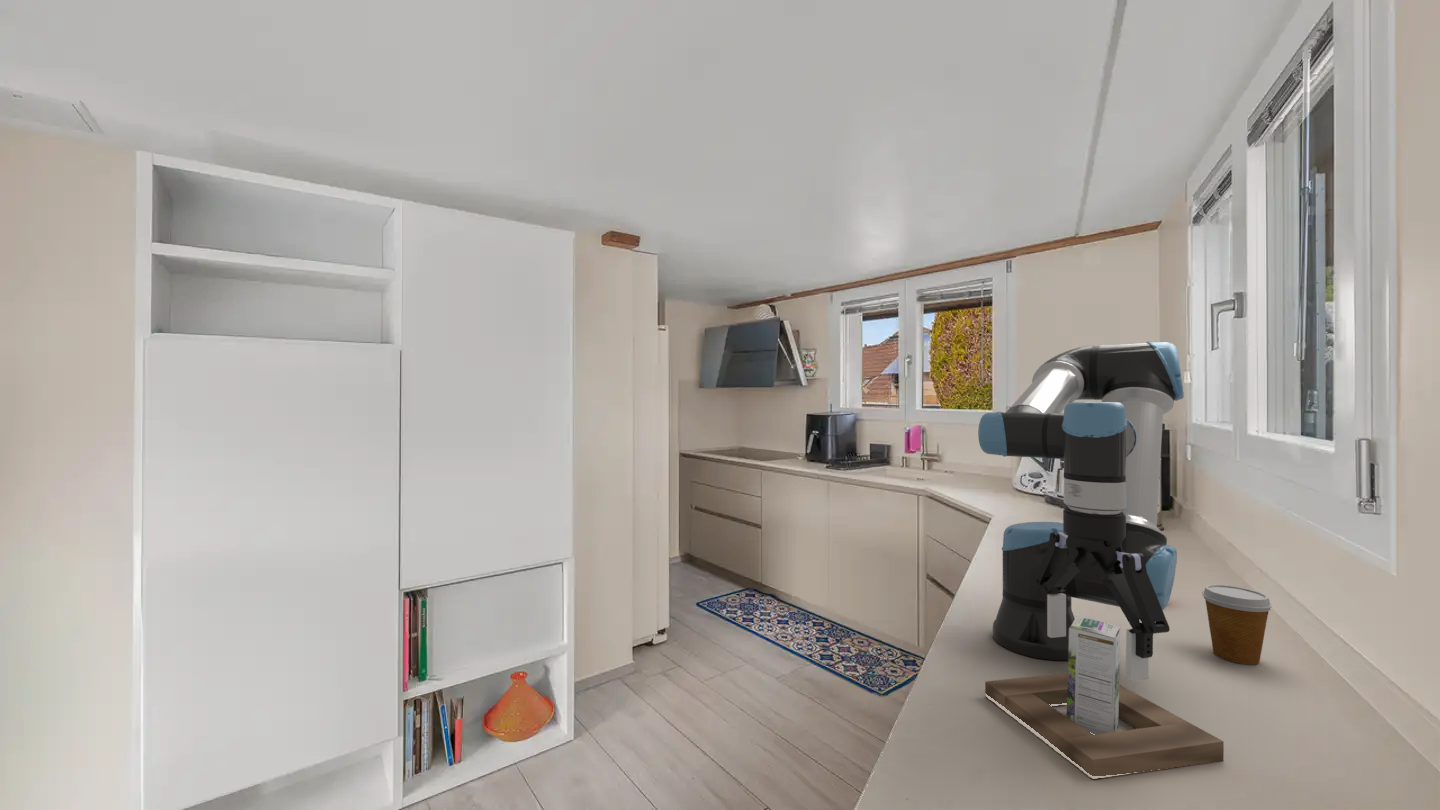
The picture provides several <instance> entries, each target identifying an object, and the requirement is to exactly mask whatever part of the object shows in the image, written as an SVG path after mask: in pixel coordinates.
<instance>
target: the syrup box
mask: <svg viewBox="0 0 1440 810" xmlns="http://www.w3.org/2000/svg"><path fill="white" fill-rule="evenodd" d="M1074 618H1075V620H1074V622H1073V623H1072V625H1071V627H1070V628H1069V649H1068V660H1067V663H1068V664H1067V673H1068V687H1067V705H1066V717H1068V718H1069V719H1070V720H1072V721H1073V722H1075V723H1076V724H1078V725H1079V726H1081V727H1082V728H1084V729H1085V730H1087V731H1088V732H1091V733H1093V734H1102V733H1110V732H1117V731H1118V727H1119V685H1120V679H1121V678H1120V676H1121V675H1120V671H1121V670H1120V669H1121V630H1122V629H1121V627H1120V626H1118V625H1116V624H1112V623H1109V622H1107V621H1103V620H1102V621H1101V620H1098V619H1094V618H1088V617H1079V616H1076V617H1074Z"/></svg>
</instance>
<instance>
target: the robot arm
mask: <svg viewBox="0 0 1440 810" xmlns="http://www.w3.org/2000/svg"><path fill="white" fill-rule="evenodd" d="M1177 348H1178V347H1177V345H1175V344H1174V343H1171V342H1168V341H1160V342H1157V341H1156V342H1152V341H1146V342H1143V343H1142V342H1141V343H1138V342H1137V343H1123V344H1120V343H1119V344H1101V345H1100V344H1099V345H1084V346H1080V347H1076V348H1073V349H1069V350H1066V351H1063V352H1062V353H1061V352H1060V353H1059V354H1057V355H1055V356H1053V357H1051V358H1050V359H1048V360H1046V361H1045V362H1044V363H1043V364H1041V365H1040V366H1039V367H1038V368H1037V369H1036V370H1035V372H1034V374H1033V376H1032V379H1031V384H1030V385H1029V386H1028V387H1027V389H1025V391H1024V392H1023V393H1022V394H1021V395H1020V396H1019V397H1018V398H1017V399H1016V400H1015V402H1014V403H1013V404H1012V405H1011V406H1010V407H1009V408H1008V409H1007V411H1006V412H1004V411H1003V412H1002V411H996V412H986V413H984V414H983V415H982V416H981V417H980V420H979V424H978V430H977V431H978V433H977V435H978V436H977V437H978V443H979V447H980V449H981V451H983V452H984V453H985V454H986V455H993V456H1002V457H1017V458H1020V457H1021V458H1039V459H1057V460H1063V504H1064V505H1066V506H1067V507H1065V508H1064V509H1063V510H1062V516H1063V517H1062V521H1063V522H1060V521H1059V522H1058V521H1029V522H1028V521H1027V522H1018V523H1015V524H1011V525H1009V526H1007V527H1006V528H1005V529H1004V531H1003V536H1002V537H1003V538H1002V546H1001V551H1002V599H1001V602H1000V605H999V608H998V611H997V614H996V617H995V620H994V621H993V623H992V639H993V640H994V641H995V642H996V643H997V644H998V645H1000V646H1001V647H1003V648H1005V649H1007V650H1009V651H1012V652H1014V653H1016V654H1020V655H1023V656H1027V657H1030V658H1035V659H1042V660H1049V661H1068V649H1069V628H1070V627H1071V625H1072V623H1073V622H1074V620H1075V618H1076V617H1075V615H1074V613H1073V611H1072V599H1073V598H1074V599H1075V598H1076V599H1078V600H1084V601H1090V602H1093V603H1094V602H1095V603H1099V604H1103V605H1108V606H1113V607H1117V608H1120V610H1121V611H1122V613H1123V615H1124V617H1125V618H1126V620H1127V622H1128V623H1129V625H1130V627H1131V628H1129V629H1127V628H1126V629H1125V632H1126V633H1125V635H1126V636H1125V639H1126V640H1125V642H1126V643H1125V644H1126V645H1125V646H1126V648H1125V649H1126V650H1125V651H1126V652H1125V653H1126V655H1125V660H1126V662H1125V667H1126V669H1125V672H1126V673H1125V676H1126V678H1125V679H1126V680H1129V681H1130V682H1135V681H1142V680H1143V681H1144V680H1149V658H1152V657H1153V654H1154V650H1153V649H1154V634H1164V633H1168V632H1170V625H1169V623H1168V621H1167V618H1166V615H1165V613H1164V610H1165V609H1166V608H1167V606H1168V604H1169V601H1170V598H1171V594H1172V590H1173V587H1174V582H1175V576H1176V569H1177V562H1178V553H1177V549H1176V548H1175V547H1174V546H1171V545H1170V544H1167V543H1168V538H1167V535H1166V534H1165V533H1164V532H1163V531H1162V530H1161V529H1159V528H1158V526H1157V525H1158V510H1159V509H1158V508H1159V493H1160V492H1159V490H1160V477H1161V476H1160V475H1161V474H1160V472H1161V459H1162V458H1161V457H1162V456H1161V455H1162V438H1163V420H1164V415H1165V414H1167V413H1169V412H1170V411H1171V410H1172V409H1173V408H1174V404H1175V403H1174V401H1180V400H1182V399H1183V400H1184V397H1185V395H1184V393H1185V392H1184V386H1183V380H1182V379H1183V378H1182V373H1181V365H1180V359H1179V352H1178V349H1177ZM1080 400H1083V401H1080ZM1084 400H1086V401H1084ZM1087 400H1090V401H1087ZM1091 400H1094V401H1091ZM1095 400H1096V401H1095Z"/></svg>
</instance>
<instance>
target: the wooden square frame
mask: <svg viewBox="0 0 1440 810" xmlns="http://www.w3.org/2000/svg"><path fill="white" fill-rule="evenodd" d="M984 684H985V685H984V686H985V687H984V688H985V689H984V691H985V693H986V694H987V695H988V696H990V697H991V698H993V699H994V700H995V701H997V702H998V703H999V704H1001V705H1002V706H1004V707H1005V708H1006V709H1007V710H1009V711H1010V712H1011V713H1012V714H1014V715H1015V716H1017V717H1018V718H1019V719H1021V720H1022V721H1023V722H1025V723H1026V724H1027V725H1029V726H1030V727H1031V728H1033V729H1034V730H1035V731H1036V732H1038V733H1039V734H1040V735H1041V736H1043V737H1044V738H1045V739H1047V740H1048V741H1049V742H1050V743H1051V744H1053V745H1054V746H1055V747H1057V748H1058V749H1059V750H1060V751H1061V752H1063V753H1064V754H1065V755H1066V756H1067V757H1069V758H1070V759H1071V760H1072V761H1074V762H1075V763H1076V764H1078V765H1079V766H1080V767H1082V768H1083V769H1084V770H1085V771H1086V772H1087V773H1089V774H1090V775H1092V776H1106V775H1117V774H1126V773H1134V772H1143V771H1151V770H1152V771H1151V772H1154V771H1153V770H1158V769H1164V770H1168V769H1167V768H1171V769H1175V768H1174V767H1178V768H1184V767H1190V766H1197V765H1202V764H1209V763H1217V762H1224V759H1225V758H1224V751H1225V750H1224V749H1225V748H1224V747H1225V746H1224V745H1225V744H1224V743H1225V742H1224V740H1222V739H1220V738H1219V737H1216V736H1214V735H1212V734H1211V733H1209V732H1207V731H1206V730H1204V729H1202V728H1199V726H1196V725H1194V724H1193V723H1190V722H1189V721H1187V720H1185V719H1183V718H1181V717H1180V716H1177V715H1176V714H1174V713H1172V712H1171V711H1169V710H1166V709H1165V708H1163V707H1161V706H1159V705H1158V704H1155V703H1154V702H1152V701H1151V700H1148V699H1147V698H1145V697H1143V696H1141V695H1140V694H1138V693H1135V692H1134V691H1132V690H1130V689H1129V688H1127V687H1124V686H1123V685H1121V684H1119V718H1120V720H1121V719H1122V720H1121V721H1123V720H1124V721H1125V723H1126V722H1127V723H1126V724H1128V723H1129V724H1131V725H1132V726H1131V725H1130V726H1131V727H1133V726H1134V727H1135V728H1134V727H1133V729H1126V730H1120V731H1118V730H1117V731H1116V732H1110V733H1102V734H1095V735H1093V734H1091V733H1090V732H1088V731H1087V730H1085V729H1084V728H1082V727H1081V726H1079V725H1078V724H1076V723H1075V722H1073V721H1072V720H1070V719H1069V718H1068V717H1067V715H1065V714H1063V713H1061V712H1060V711H1059V710H1057V709H1056V708H1055V707H1051V706H1050V705H1051V704H1062V703H1067V687H1068V672H1064V673H1054V674H1052V673H1051V674H1045V675H1036V676H1035V675H1034V676H1033V675H1032V676H1025V677H1016V678H1006V679H997V680H985V682H984ZM985 693H984V694H985ZM1049 704H1050V705H1049ZM1124 721H1123V722H1124ZM1129 724H1128V725H1129ZM1136 728H1137V729H1136ZM1188 765H1190V766H1188ZM1183 766H1184V767H1183ZM1158 771H1159V770H1158Z"/></svg>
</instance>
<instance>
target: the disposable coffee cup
mask: <svg viewBox="0 0 1440 810" xmlns="http://www.w3.org/2000/svg"><path fill="white" fill-rule="evenodd" d="M1201 595H1202V597H1203V599H1204V600H1205V606H1206V612H1207V613H1206V614H1207V619H1208V625H1209V633H1210V639H1211V646H1212V647H1211V648H1212V652H1213V654H1214V655H1215V656H1217V657H1219V658H1220V659H1224V660H1225V661H1229V662H1233V663H1238V664H1242V665H1249V666H1250V665H1251V666H1252V665H1258V664H1260V661H1261V656H1262V650H1263V645H1264V640H1265V639H1264V637H1265V633H1266V628H1267V627H1266V626H1267V622H1268V621H1267V620H1268V616H1269V611H1271V608H1273V604H1272V603H1271V602H1270V601H1271V600H1270V598H1269V596H1268V594H1265V593H1263V592H1261V591H1257V590H1253V589H1250V588H1246V587H1241V586H1235V585H1226V584H1207V585H1205V587H1204V591H1202V592H1201Z"/></svg>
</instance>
